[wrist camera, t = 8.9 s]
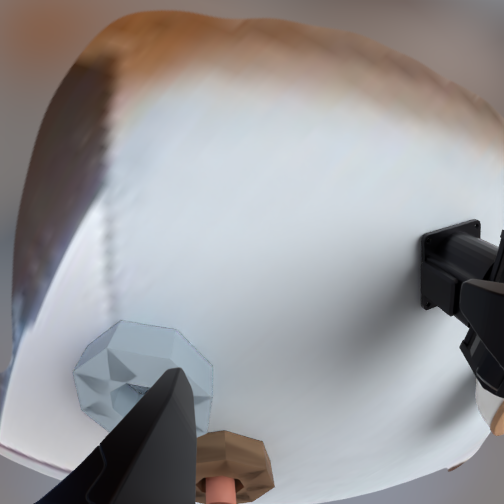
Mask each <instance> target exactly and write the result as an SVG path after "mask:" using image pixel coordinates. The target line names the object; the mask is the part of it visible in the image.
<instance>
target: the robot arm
mask: <svg viewBox="0 0 504 504" xmlns="http://www.w3.org/2000/svg"><path fill="white" fill-rule="evenodd" d="M475 225H476V226H475ZM480 230H481V225H480V221H478V220H476V219H473V220H470V221H467V222H463V223H460V224H457V225H453V226H450V227H447V228H443V229H440V230H436V231H433V232H430V233H426V234H424V235H423V237H422V240H421V246H422V265H421V293H422V297H421V306H422V307H423V308H424V309H425V310H429V309H431V308H434V307H436V306H438V307H439V308H441V309H442V310H443V311H444V312H445V313H447V314H448V315H449V316H453V315H454V316H455V317H456V318H457V319H459V320H460V321H461V322H462V323H463V324H465V325H466V326H467V327H468V328H469V330H468V332H467V335H466V337H465V339H464V340H463V341H462V343H461V345H460V347H459V348H460V349H461V351H462V353H463V355H464V356H465V358H466V360H467V362H468V363H469V365H470V367H471V369H472V370H473V372H474V374H475V376H476V378H477V380H478V381H479V383H480V384H481V386H482V388H483V389H485V390H487V391H489V392H490V393H492V394H493V395H496V396H498V397H501V398H504V230H502V232H501V236H500V237H501V241H500V244H499V247H497V246H495V245H493V244H491V243H489V242H486V241H484V240H482V239H480ZM428 238H429V241H428V242H427V239H428ZM427 303H428V304H427ZM426 304H427V305H426ZM196 454H197V433H196V421H195V409H194V396H193V390H192V387H191V385H190V383H189V381H188V379H187V377H186V375H185V373H184V371H183V369H182V368H181V367H176V368H170V369H167V370H166V371H165V372H164V373H163V374H162V376H161V377H160V378H159V379H158V380H157V381H156V382H155V383H154V384H153V386H152V387H151V388H150V389H149V390H148V391H147V392H146V393H145V394H144V396H143V397H142V398H141V399H140V400H139V401H138V402H137V403H136V404H135V406H134V407H133V408H132V409H131V410H130V411H129V412H128V413H127V414H126V416H125V417H124V418H123V419H122V420H121V421H120V422H119V423H118V424H117V425H116V427H115V428H114V429H113V430H112V431H111V432H110V433H109V434H108V435H107V436H106V437H105V439H104V440H103V441H102V442H101V443H100V446H97V447H96V448H95V449H94V450H93V451H92V453H91V454H90V455H89V456H88V457H87V458H86V459H85V460H84V461H83V462H82V463H81V464H80V465H79V466H78V467H77V468H76V469H75V470H74V471H72V472H71V473H70V474H69V475H68V476H67V477H66V478H65V479H64V480H62V481H61V482H60V483H59V484H58V485H57V486H55V487H54V488H53V489H52V490H51V491H50V492H48V493H47V494H46V495H45V496H44V497H43V498H41V499H40V500H39V501H37V502H36V503H34V504H195V497H196Z"/></svg>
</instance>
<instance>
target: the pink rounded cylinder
mask: <svg viewBox="0 0 504 504" xmlns="http://www.w3.org/2000/svg"><path fill="white" fill-rule="evenodd" d="M206 504H236V493H235V480H234V478H230V477H226V476H216V477H206Z"/></svg>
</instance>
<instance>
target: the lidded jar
mask: <svg viewBox="0 0 504 504" xmlns="http://www.w3.org/2000/svg"><path fill="white" fill-rule="evenodd" d="M475 398H476V404H477V407H478V410H479V412H480V414H481V416H482V418H483V419H484V421H485V422H486V424H487V425H488V426H489V427H490V430H491V432H492V433H493V434H494V435H495V436H499V435H502V434H504V398H501V397H498V396H496V395H493V394H492V393H490V392H489V391H487V390H485V389H483V388H482V386H481V384H480V383H479V381H478V380H477V378H476V391H475Z"/></svg>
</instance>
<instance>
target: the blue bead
mask: <svg viewBox="0 0 504 504" xmlns="http://www.w3.org/2000/svg"><path fill="white" fill-rule="evenodd" d="M176 367H181V368H182V369H183V371H184V373H185V375H186V377H187V379H188V381H189V383H190V385H191V387H192V390H193V396H194V409H195V421H196V433H197V437H200V436H202V435H204V434H207V431H208V424H209V417H210V410H211V403H212V384H213V366H212V365H211V364H210V363H209V362H208V361H207V360H206V359H205V358H204V357H203V356H202V355H201V354H200V353H199V352H198V351H197V350H196V349H195V348H194V347H193V346H192V345H191V344H190V343H189V342H188V341H187V340H186V339H185V338H184V337H183V336H182V335H181V334H180V333H179V332H178V331H177V330H176V329H169V328H163V327H156V326H150V325H144V324H138V323H133V322H127V321H122V320H121V321H120V322H118V323H117V324H116V325H114V326H113V327H112V328H110V329H109V330H108V331H106V332H105V333H104V334H102V335H101V336H100V337H98V338H97V339H96V340H94V341H93V342H92V343H90V344H89V345H88V347H87V348H86V350H85V352H84V353H83V355H82V357H81V358H80V360H79V362H78V364H77V365H76V367H75V369H74V371H73V375H74V380H75V385H76V389H77V394H78V398H79V402H80V406H81V410H82V411H83V412H84V413H85V414H87V415H88V416H89V417H90V418H92V419H93V420H94V421H95V422H97V423H98V424H99V425H100V426H102V427H103V428H104V429H106V430H107V431H108V432H111V431H112V430H113V429H114V428H115V427H116V425H117V424H118V423H119V422H120V421H121V420H122V419H123V418H124V417H125V416H126V414H127V413H128V412H129V411H130V410H131V409H132V408H133V407H134V406H135V404H136V403H137V402H138V401H139V400H140V399H141V398H142V397H143V396H144V394H138V393H137V392H136V391H135V390H134V389H133V388H132V387H130V386H129V385H128V384H133V385H138V386H144V387H149V388H151V387H152V386H153V384H154V383H155V382H156V381H157V380H158V379H159V378H160V377H161V376H162V374H163V373H164V372H165V371H166V370H167V369H170V368H176ZM127 383H128V384H127Z"/></svg>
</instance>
